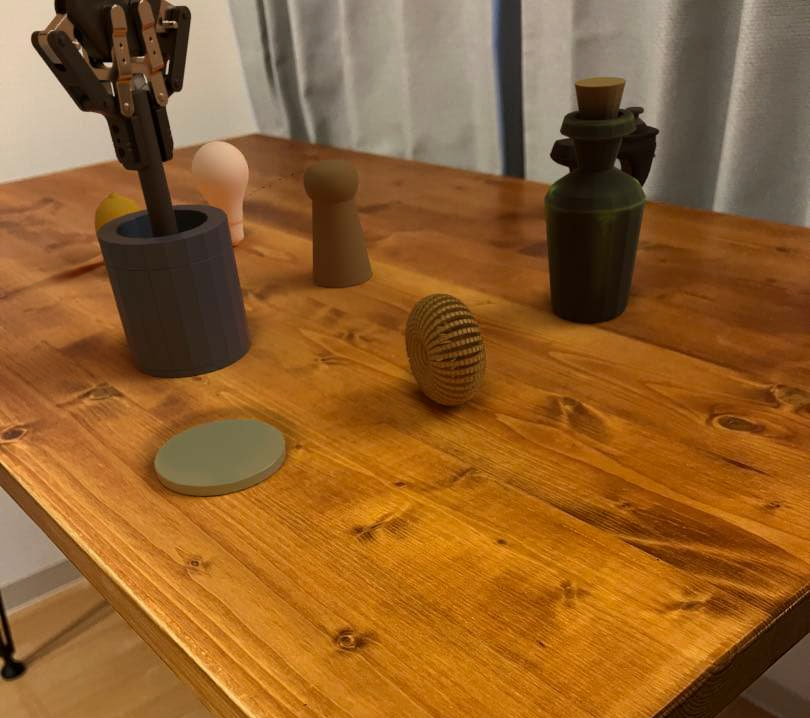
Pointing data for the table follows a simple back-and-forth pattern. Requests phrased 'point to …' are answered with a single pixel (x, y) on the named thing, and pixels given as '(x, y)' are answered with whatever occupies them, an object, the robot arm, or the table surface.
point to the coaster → (220, 457)
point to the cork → (336, 225)
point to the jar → (177, 291)
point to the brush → (154, 173)
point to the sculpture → (445, 349)
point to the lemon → (113, 209)
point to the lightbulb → (222, 181)
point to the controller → (631, 154)
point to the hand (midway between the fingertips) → (148, 164)
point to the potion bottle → (594, 210)
